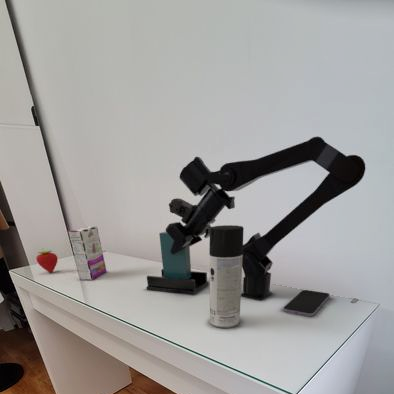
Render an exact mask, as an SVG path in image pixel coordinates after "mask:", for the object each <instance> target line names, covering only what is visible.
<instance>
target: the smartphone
mask: <svg viewBox="0 0 394 394" xmlns="http://www.w3.org/2000/svg"><path fill="white" fill-rule="evenodd" d="M330 297H331V296H330V293H328V292H322V291H316V290H315V291H314V290H309V289H303V290H301V291H300V292H298V293H297V295H295V296H294V297H293V298H292V299H291V300H290V301H289V302H287V303H286V304H285V305H284V307H283V309H282V311H283V312H285V313H288V314H293V315H299V316H304V317H314V316H315V314H316V313H318V311H319V310H320V309H321V307H323V305H324V304H325V303H326V302H327V301H328V299H329V298H330Z"/></svg>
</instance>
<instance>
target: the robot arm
mask: <svg viewBox="0 0 394 394" xmlns="http://www.w3.org/2000/svg"><path fill="white" fill-rule="evenodd" d="M310 162H313V163H315V164H317V166H320V167H321V168H323V169H324V170H325V171H327V172H328V174H327V175H326V176H325V177H324V179H323V180H322V181H321V182H320V184H319V185H318V186H317V187H316V189H314V190H313V192H311V193H310V194H308V196H307V197H306V198H305V199H303V200H302V201H301V202H300V203H299V204H298V205H297V206H296V207H294V208H293V209H292V210H291V211H290V212H289V213H288V214H287V215H285V216H284V217H283V218H282V219H280V221H278V222H277V223H276V224H275V225H274V226H273V227H272V228H270V229H269V231H267V232H266V233H265V234H264V235H261V234H260V232H257V233H255V234H253V235H252V236H251V237H250V238H249V239H248V240H247V242H245V243H243V259H242V272H243V273H244V276H243V277H242V278H243V279H242V291H243V292H241V297H245V298H248V299H249V298H250V299H254V300H259V301H262V300H264V299H266V298H267V297H269V296H271V295H272V294H273V292H272V291H270V290H271V278H272V273H271V272H269V271H270V270H271V268H272V266H273V264H274V263H273V261H272V260H271V259H270V257H269V256H268V255H269V254H270V253H271V251H272V250H273V249H274V248H275V247H276V245H277V244H278V243H279V242H281V241H282V240H283V239H284V238H285V237H287V236H288V235H289V234H290V233H291V232H292V231H294V230H295V229H296V228H297V227H299V226H300V225H301V224H302V223H304V222H305V221H306V220H307V219H309V218H310V217H311V216H312V215H313V214H314V213H315V212H317V211H318V210H319V209H320V208H322V207H323V206H324V205H325V204H327V203H329V202H330V201H332V200H334V199H335V198H337V197H339V196H341V195H342V194H344V193H345V192H347V191H348V190H350V189H352V188H354V187H355V186H357V185H358V184H359V183H360V182H361V181H362V180H363V178H364V176H365V173H366V163H365V161H364V159H363V158H362V156H359V155H357V154H350V155H349V154H348V155H346V154H344V153H343V152H341V151H340V150H338V149H337V148H336V147H334V146H333V145H330V144H329V143H327V142H326V141H325V139H324V138H322V136H313V137H311V138H310V139H308V140H306V141H303V142H300V143H298V144H295V145H292V146H289V147H286V148H283V149H280V150H278V151H275V152H272V153H270V154H267V155H264V156H261V157H259V158H255V159H250V160H249V159H248V160H238V161H232V162H226V163H224V164H223V165H221V167H220V168H219V170H216V171H211V170H210V169H209V167H208V166H207V165H206V164H205V162H204V160H203V159H202V158H201V157H200V156H195V157H194V158H193V160H191V161H190V162H189V163H188V164H186V165H185V166H184V167H183V168H182V169H181V172H180V173H179V177H178V178H179V180H180V181H181V182H182V183H183V184H184V185H185V187H186V188H187V189H188V190H189V191H190V192H191V194H192V195H193V196H194V197H197V196H200V197H201V199H200V200H199V201H198V203H197V204H192V203H190V202H188V201H186V200H184V199H182V198H178V197H177V198H173V199H171V200H170V202H169V203H168V207H169V213H171V214H174V215H176V216H178V217H180V218H181V220H180V221H181V222H180V221H176V222H171V223H169V224H168V225H167V227H166V228H165V232H167V233H168V234H169V235H170V236H171V238H172V239H173V240H174V242H173V245H172V248H171V251H170V252H171V254H172V255H173V254H175V253H177V252H179V251H181V250H182V249H184V248H186V247H188V246H189V247H192V246H194V245H196V244H198V243H200V242H201V241H203V239H202V237H201V236H203V235H204V236H203V238H204V239H207V238H210V228H211V227H212V226H211V225H212V224H214V223H215V222H216V221H217V220H216V218H217V217H218V215H220V213H221V212H222V211H223V210H224V208H227V210H233V209H235V208H236V206H235V205H236V203H235V200H236V198H235V196H230V195H229V194H228V192H238V191H241V190H243V189H245V188H246V187H248V186H250V185H252V184H254V183H255V182H256V181H258V180H260V179H262V178H264V177H267V176H271V175H274V174H277V173H279V172H283V171H286V170H290V169H292V168H295V167H298V166H302V165H304V164H307V163H310ZM218 186H219V187H220V188H219V187H218ZM182 223H183V224H185V225H183V224H182Z"/></svg>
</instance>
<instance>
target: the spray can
mask: <svg viewBox="0 0 394 394" xmlns="http://www.w3.org/2000/svg"><path fill="white" fill-rule="evenodd" d="M244 230H245V229H244V226H242V225H233V224H232V225H231V224H230V225H225V224H224V225H215V226H211V228H210V236H209V249H208V251H209V253H208V254H209V322H210V324H211V325H212V326H213V327H215V328H219V329H230V328H235V327H236V326H237V325H238V324H239V323H240V321H241V300H242V296H241V294H242V282H243V279H242V278H243V275H242V274H243V268H242V259H243V245H244Z"/></svg>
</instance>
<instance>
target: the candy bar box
mask: <svg viewBox="0 0 394 394" xmlns="http://www.w3.org/2000/svg"><path fill="white" fill-rule="evenodd" d="M67 233H68V237H69V240H70V245H71V248H72V252H73V255H74V259H75V263H76V267H77V271H78V275H79V278H80V280H81V281H93V280H95V279H97V278H98V277H100V276H103V275H104V274H106V273H107V272H108V271H107V267H106V263H105V259H104V257H105V256H104V253H103V248H102V244H101V238H100V234H99V230H98V226H91V225H90V226H83V227H79V228H76V229H72V230H68V232H67Z"/></svg>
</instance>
